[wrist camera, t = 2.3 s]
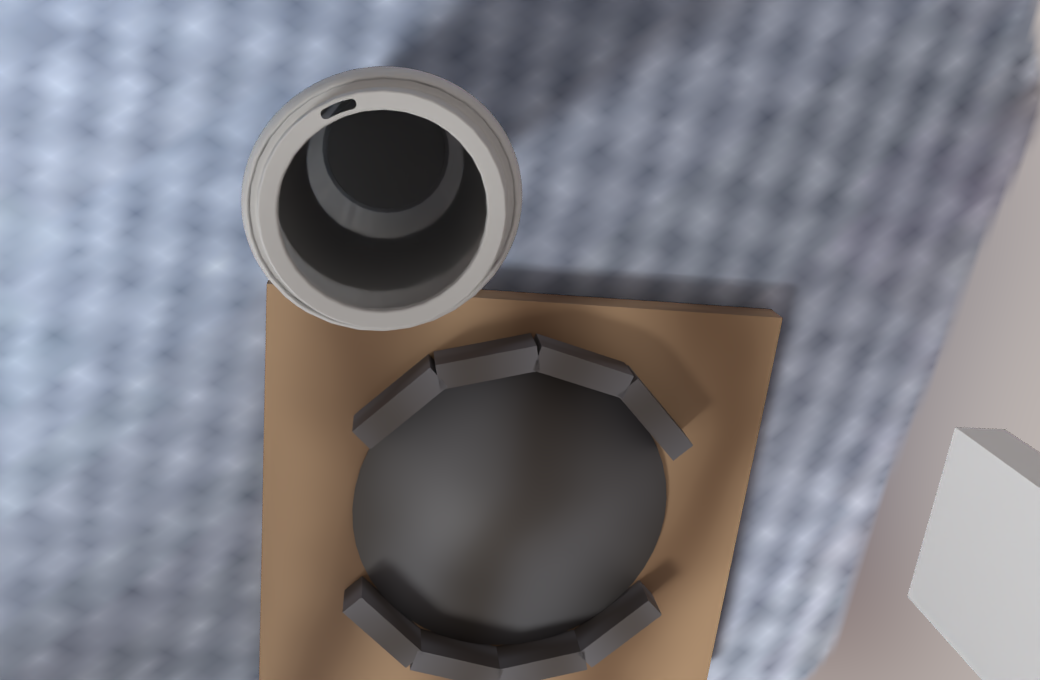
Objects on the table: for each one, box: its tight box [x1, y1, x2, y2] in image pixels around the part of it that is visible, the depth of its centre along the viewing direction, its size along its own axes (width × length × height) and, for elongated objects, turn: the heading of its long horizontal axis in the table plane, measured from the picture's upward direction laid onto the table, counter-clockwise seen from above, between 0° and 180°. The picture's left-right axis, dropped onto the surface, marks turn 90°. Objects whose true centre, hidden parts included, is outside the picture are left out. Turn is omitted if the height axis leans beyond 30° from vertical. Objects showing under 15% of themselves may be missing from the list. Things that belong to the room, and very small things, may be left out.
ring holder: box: [259, 280, 783, 680], centre depth 37 cm, size 20×18×3 cm
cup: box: [241, 66, 522, 331], centre depth 27 cm, size 7×7×12 cm
